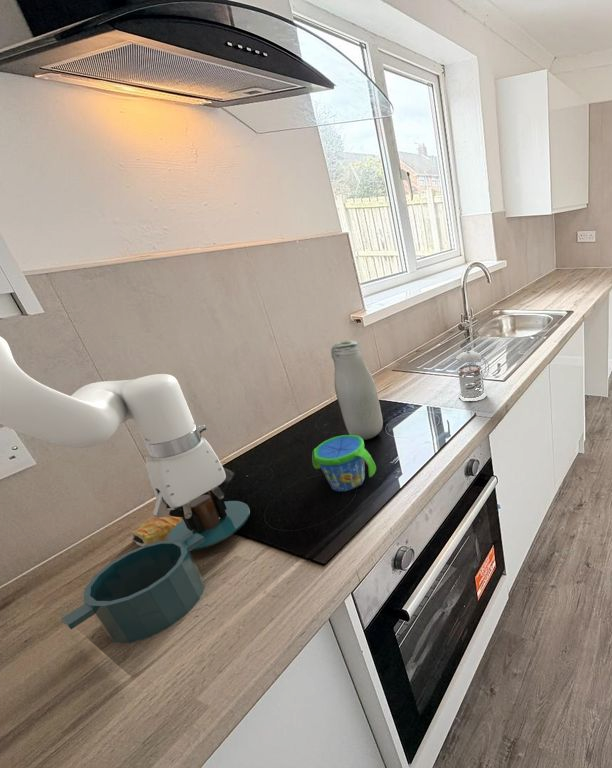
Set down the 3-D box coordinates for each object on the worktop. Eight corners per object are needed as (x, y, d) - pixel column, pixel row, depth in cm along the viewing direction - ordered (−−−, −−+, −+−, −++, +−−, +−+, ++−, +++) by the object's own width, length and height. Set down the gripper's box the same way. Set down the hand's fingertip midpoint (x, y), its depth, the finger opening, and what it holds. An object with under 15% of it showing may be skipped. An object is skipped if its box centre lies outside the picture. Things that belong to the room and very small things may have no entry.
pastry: (180, 514, 90) (173, 500, 88) (200, 521, 88) (193, 506, 86) (130, 545, 82) (122, 530, 81) (151, 553, 80) (142, 538, 78)
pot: (72, 641, 63) (43, 602, 60) (196, 556, 78) (179, 521, 75) (110, 676, 58) (81, 635, 55) (236, 578, 73) (219, 541, 69)
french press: (452, 395, 138) (442, 322, 128) (481, 385, 144) (474, 315, 134) (468, 405, 130) (458, 328, 120) (498, 394, 136) (491, 320, 126)
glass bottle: (373, 424, 122) (352, 333, 111) (392, 434, 116) (372, 339, 105) (342, 438, 116) (316, 343, 105) (360, 450, 109) (335, 350, 98)
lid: (154, 541, 79) (140, 513, 76) (226, 498, 90) (216, 473, 88) (194, 563, 73) (180, 534, 71) (265, 515, 84) (255, 488, 82)
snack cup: (390, 476, 98) (382, 439, 94) (359, 504, 89) (348, 465, 85) (340, 465, 104) (330, 429, 100) (306, 490, 95) (294, 452, 91)
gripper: (210, 418, 82) (239, 493, 90) (106, 462, 69) (150, 546, 76) (233, 424, 79) (261, 501, 86) (128, 472, 66) (172, 558, 73)
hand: (209, 521), depth 81 cm, fingers closed on lid, 3 cm apart
